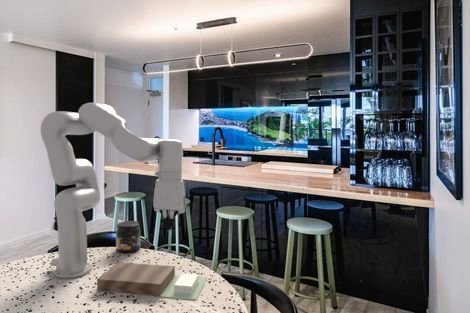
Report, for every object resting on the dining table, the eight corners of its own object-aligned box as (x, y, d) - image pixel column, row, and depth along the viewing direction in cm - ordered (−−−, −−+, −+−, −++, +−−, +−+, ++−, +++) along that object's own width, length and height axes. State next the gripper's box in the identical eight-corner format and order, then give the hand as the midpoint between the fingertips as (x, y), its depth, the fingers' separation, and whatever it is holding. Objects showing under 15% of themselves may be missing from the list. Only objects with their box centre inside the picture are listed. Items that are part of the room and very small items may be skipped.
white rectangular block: (191, 286, 103) (191, 293, 103) (198, 274, 112) (198, 281, 112) (173, 285, 104) (173, 292, 104) (182, 273, 113) (182, 280, 113)
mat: (160, 297, 101) (160, 296, 101) (175, 276, 116) (175, 275, 116) (196, 300, 100) (196, 299, 100) (206, 278, 115) (206, 278, 115)
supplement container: (110, 252, 139) (110, 225, 138) (125, 244, 149) (125, 219, 148) (131, 255, 136) (131, 228, 135) (145, 247, 146) (145, 221, 145)
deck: (97, 290, 105) (97, 279, 105) (118, 272, 119) (118, 262, 118) (160, 296, 102) (160, 284, 102) (174, 277, 116) (174, 266, 115)
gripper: (144, 176, 104) (144, 230, 106) (188, 178, 102) (187, 234, 104) (153, 173, 112) (152, 224, 113) (194, 175, 110) (193, 227, 111)
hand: (169, 228), depth 108 cm, fingers closed
